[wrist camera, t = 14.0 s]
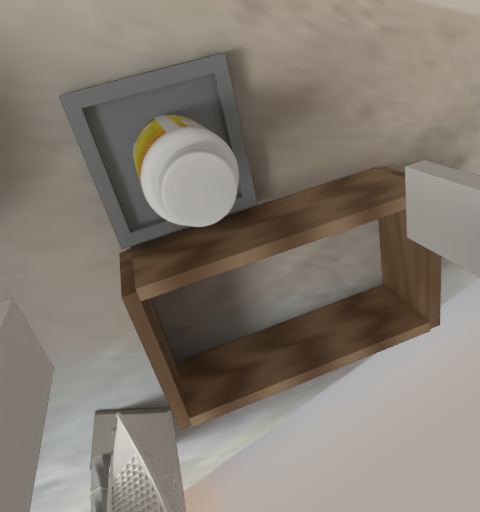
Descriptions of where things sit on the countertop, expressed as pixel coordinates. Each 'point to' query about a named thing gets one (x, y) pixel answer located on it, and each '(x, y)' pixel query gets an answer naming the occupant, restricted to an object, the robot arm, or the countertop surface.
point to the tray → (131, 122)
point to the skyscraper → (135, 462)
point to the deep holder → (297, 329)
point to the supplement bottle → (185, 171)
